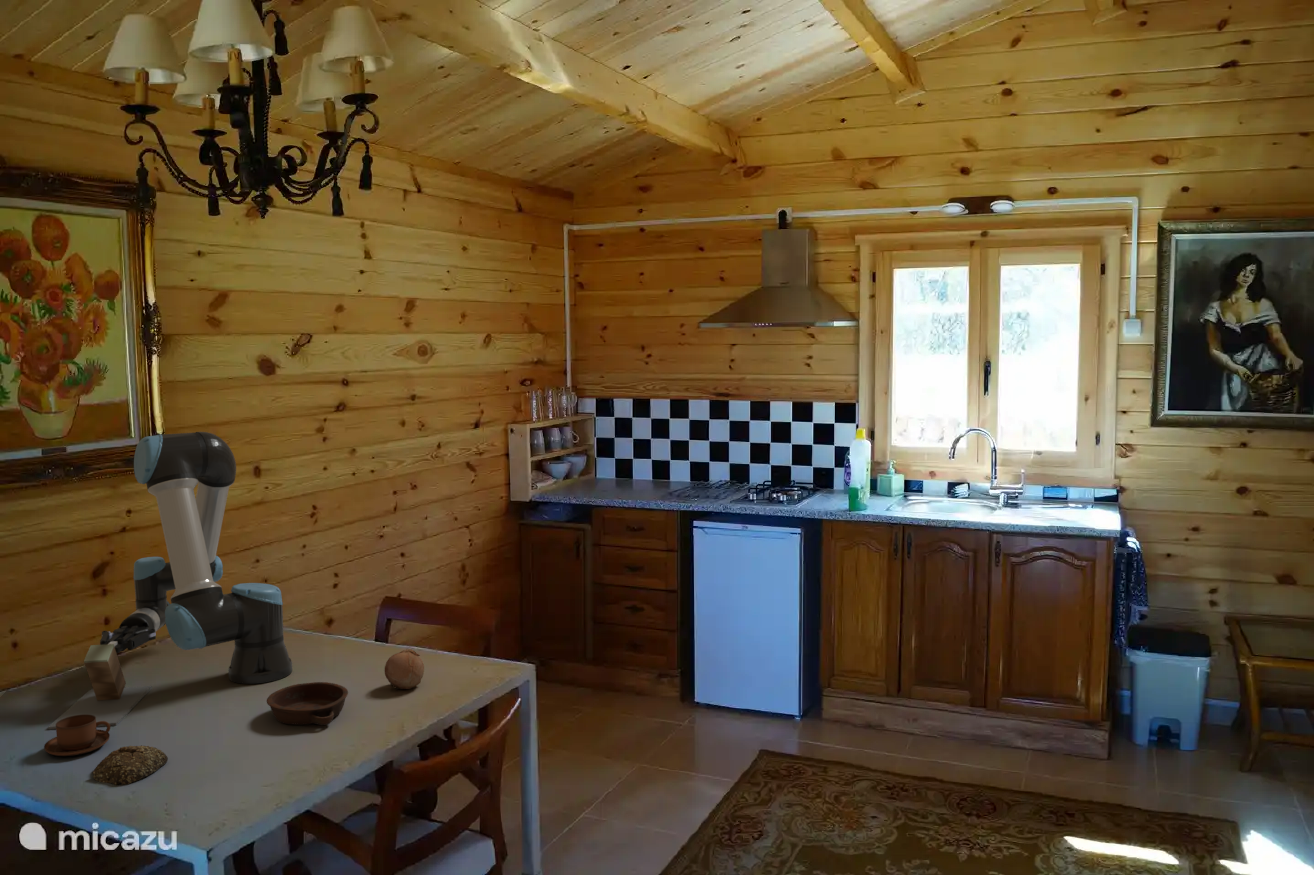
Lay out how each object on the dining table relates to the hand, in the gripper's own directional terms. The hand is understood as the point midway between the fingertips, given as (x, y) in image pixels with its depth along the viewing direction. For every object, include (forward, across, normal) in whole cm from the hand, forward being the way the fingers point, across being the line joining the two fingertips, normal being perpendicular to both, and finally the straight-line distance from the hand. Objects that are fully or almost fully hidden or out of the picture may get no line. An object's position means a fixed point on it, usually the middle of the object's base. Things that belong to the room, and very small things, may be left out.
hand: (104, 655), depth 241 cm
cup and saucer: (+29, -5, -11) cm, 32 cm away
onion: (+2, -69, -11) cm, 70 cm away
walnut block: (-1, -1, -9) cm, 9 cm away
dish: (+17, -49, -11) cm, 53 cm away
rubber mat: (+5, -1, -11) cm, 12 cm away
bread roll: (+42, -19, -12) cm, 48 cm away
